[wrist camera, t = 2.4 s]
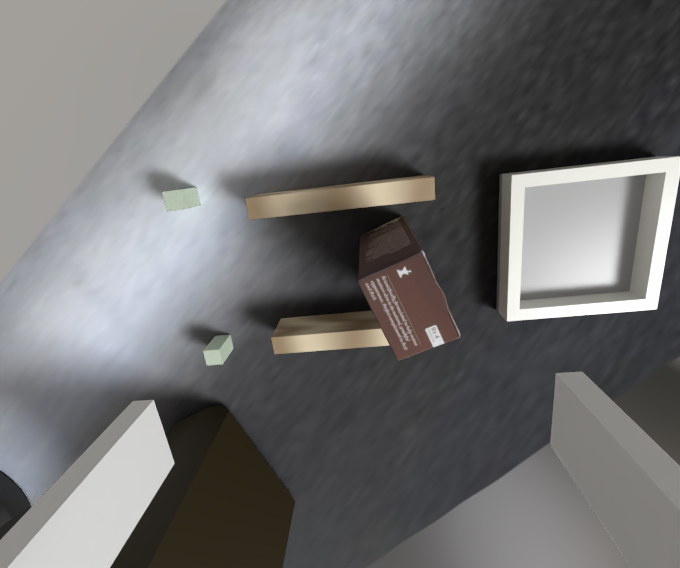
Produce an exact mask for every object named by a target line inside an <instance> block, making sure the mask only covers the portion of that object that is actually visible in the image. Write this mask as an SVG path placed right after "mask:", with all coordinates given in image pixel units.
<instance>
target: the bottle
mask: <svg viewBox="0 0 680 568" xmlns="http://www.w3.org/2000/svg"><path fill="white" fill-rule="evenodd" d="M166 438H167V441H168V445H169V448H170V451H171V454H172V457H173V460H174V463H175V464H174V465H173V467H172V468H171V470H170V472H169V473H168V475H167V477H166V478H165V480H164V481H163V483H162V485H161V486H160V488H159V489H158V491H157V493H156V494H155V496H154V497H153V499H152V501H151V502H150V504H149V506H148V507H147V509H146V510H145V512H144V514H143V515H142V517H141V518H140V520H139V522H138V523H137V525H136V526H135V528H134V530H133V531H132V533H131V535H130V536H129V538H128V539H127V541H126V543H125V544H124V546H123V547H122V549H121V551H120V552H119V554H118V556H117V557H116V559H115V560H114V562H113V564H112V565H111V567H110V568H283V562H284V557H285V552H286V546H287V541H288V536H289V530H290V525H291V520H292V514H293V509H294V504H295V500H294V499H293V497H292V496H291V495H290V493H289V492H288V490H287V489H286V488H285V486H284V485H283V484H282V482H281V481H280V480H279V478H278V477H277V476H276V474H275V473H274V471H273V470H272V469H271V467H270V466H269V465H268V463H267V462H266V461H265V459H264V458H263V457H262V455H261V454H260V452H259V451H258V450H257V448H256V447H255V446H254V444H253V443H252V442H251V440H250V439H249V438H248V436H247V435H246V433H245V432H244V431H243V429H242V428H241V427H240V425H239V424H238V423H237V421H236V420H235V419H234V417H233V416H232V414H231V413H230V412H229V411H228V410H227V409H226V408H225V407H224V406H223V405H222V404H218V405H215V406H212V407H209V408H206V409H204V410H201V411H199V412H197V413H195V414H193V415H191V416H188V417H186V418H184V419H182V420H180V421H177V422H175V423H174V425H173V426H172V427H171V429H170V430H169V432H168V433H167V435H166Z"/></svg>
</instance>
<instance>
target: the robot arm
mask: <svg viewBox="0 0 680 568" xmlns="http://www.w3.org/2000/svg"><path fill="white" fill-rule="evenodd" d="M550 446H551V447H552V449H553V450H554V452H555V453H556V455H557V456H558V458H559V460H560V461H561V463H562V464H563V466H564V467H565V469H566V470H567V472H568V473H569V475H570V476H571V478H572V479H573V481H574V482H575V484H576V485H577V487H578V489H579V490H580V492H581V493H582V494H583V496H584V497H585V499H586V501H587V502H588V504H589V505H590V507H591V508H592V510H593V511H594V513H595V514H596V516H597V518H598V519H599V521H600V522H601V524H602V525H603V527H604V528H605V530H606V531H607V533H608V534H609V536H610V537H611V539H612V540H613V542H614V543H615V545H616V546H617V548H618V550H619V551H620V552H621V554H622V556H623V557H624V559H625V560H626V562H627V563H628V565H629V566H630V568H680V466H679V465H678V464H677V463H676V462H675V461H674V460H673V459H672V458H671V457H670V456H669V455H668V454H667V453H666V452H665V451H664V450H663V449H662V448H661V447H659V445H657V444H656V443H655V442H654V441H653V440H652V439H651V438H650V437H649V436H648V435H647V434H646V433H645V432H644V431H643V430H642V429H641V428H640V427H639V426H638V425H637V424H636V423H635V422H634V421H633V420H632V419H631V418H630V417H629V416H627V415H626V414H625V413H624V412H623V411H622V410H621V409H620V408H619V407H618V406H617V405H616V404H615V403H614V402H613V401H612V400H611V399H610V398H609V397H608V396H607V395H606V394H605V393H604V392H603V391H602V390H601V389H600V388H599V387H598V386H596V385H595V384H594V383H593V382H592V381H591V380H590V379H589V378H588V377H587V376H586V375H585V374H584V373H583V372H570V373H556V380H555V392H554V405H553V417H552V429H551V442H550ZM174 464H175V463H174V460H173V457H172V454H171V451H170V448H169V445H168V441H167V438H166V435H165V432H164V429H163V426H162V423H161V420H160V417H159V414H158V411H157V408H156V405H155V402H154V400H142V401H132V402H131V403H130V405H129V406H128V407H127V408H126V409H125V410H124V411H123V412H122V413H121V414H120V415H119V416H118V417H117V418H116V419H115V420H114V421H113V422H112V423H111V424H110V425H109V427H108V428H107V429H106V430H105V431H104V432H103V433H102V434H101V435H100V436H99V437H98V438H97V439H96V440H95V441H94V442H93V443H92V444H91V445H90V446H89V448H88V449H87V450H86V451H85V452H84V453H83V454H82V455H81V456H80V457H79V458H78V459H77V460H76V461H75V462H74V463H73V464H72V465H71V466H70V467H69V468H68V470H67V471H66V472H65V473H64V474H63V475H62V476H61V477H60V478H59V479H58V480H57V481H56V482H55V483H54V484H53V485H52V486H51V487H50V488H49V489H48V491H47V492H46V493H45V494H44V495H43V496H42V497H41V498H40V499H39V500H38V501H37V502H36V503H35V504H34V505H33V506H32V507H31V506H30V504H29V502H28V500H27V498H26V497H25V495H24V494H23V492H22V491H21V490H20V489H19V488H18V486H17V485H16V484H15V483H13V482H12V481H11V480H10V479H9V478H8V477H6V476H5V475H4V474H2V473H1V472H0V568H110V567H111V565H112V564H113V562H114V560H115V559H116V557H117V556H118V554H119V552H120V551H121V549H122V547H123V546H124V544H125V543H126V541H127V539H128V538H129V536H130V535H131V533H132V531H133V530H134V528H135V526H136V525H137V523H138V522H139V520H140V518H141V517H142V515H143V514H144V512H145V510H146V509H147V507H148V506H149V504H150V502H151V501H152V499H153V497H154V496H155V494H156V493H157V491H158V489H159V488H160V486H161V485H162V483H163V481H164V480H165V478H166V477H167V475H168V473H169V472H170V470H171V468H172V467H173V465H174Z"/></svg>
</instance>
